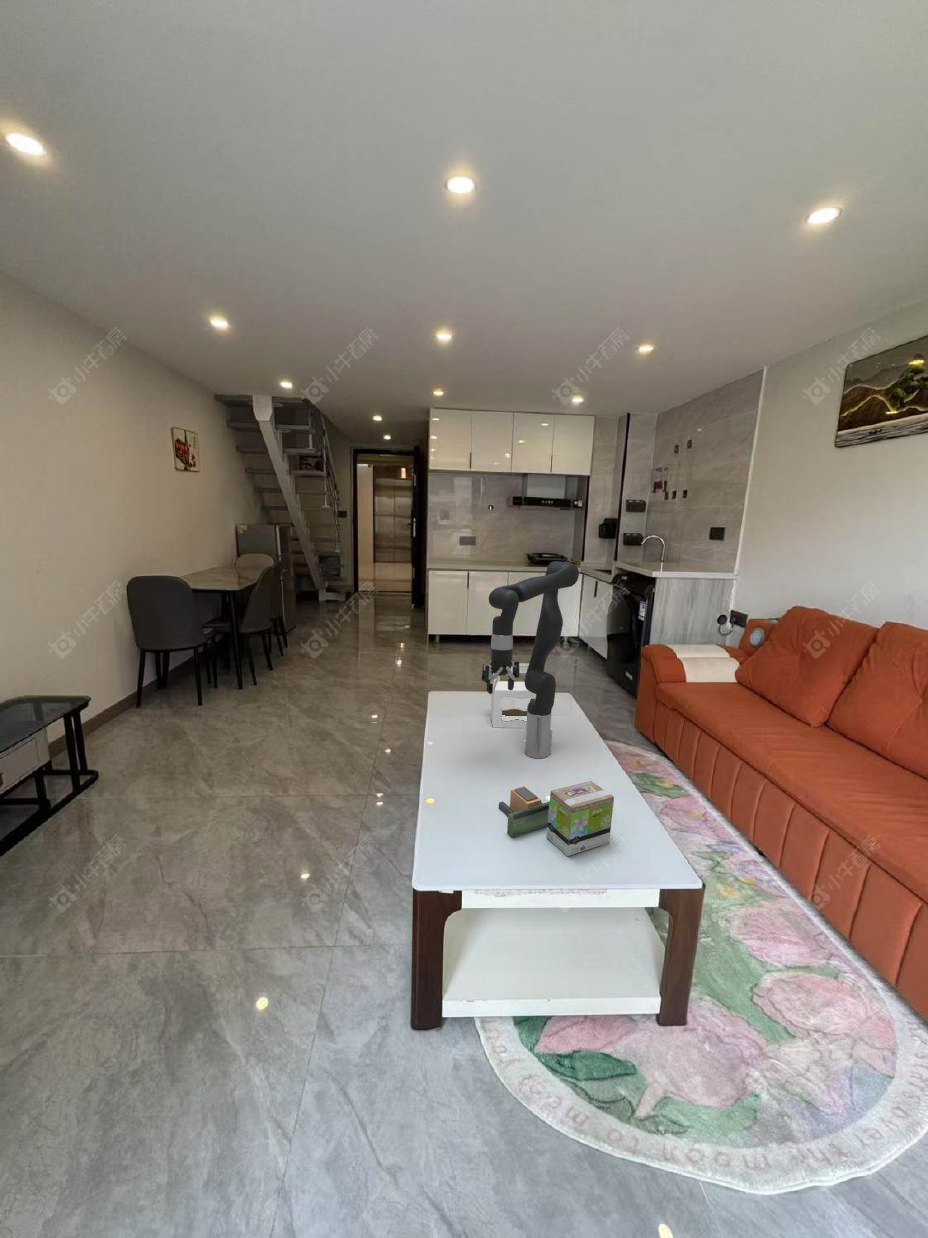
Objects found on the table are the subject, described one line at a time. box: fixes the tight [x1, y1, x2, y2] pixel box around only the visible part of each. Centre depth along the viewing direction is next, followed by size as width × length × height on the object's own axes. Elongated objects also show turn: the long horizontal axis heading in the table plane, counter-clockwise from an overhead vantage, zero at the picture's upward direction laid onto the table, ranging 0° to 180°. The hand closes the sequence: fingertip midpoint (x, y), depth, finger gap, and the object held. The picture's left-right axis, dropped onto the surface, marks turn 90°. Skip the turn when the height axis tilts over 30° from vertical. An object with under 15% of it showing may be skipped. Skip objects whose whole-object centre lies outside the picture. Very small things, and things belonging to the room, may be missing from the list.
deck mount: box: [498, 800, 550, 839], centre depth 152 cm, size 22×15×7 cm
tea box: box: [546, 780, 615, 857], centre depth 139 cm, size 15×10×15 cm, turn 117°
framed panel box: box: [509, 786, 542, 812], centre depth 154 cm, size 5×9×6 cm, turn 29°
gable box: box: [490, 662, 536, 729], centre depth 224 cm, size 22×13×28 cm, turn 91°
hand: (500, 691), depth 175 cm, fingers open, 8 cm apart
